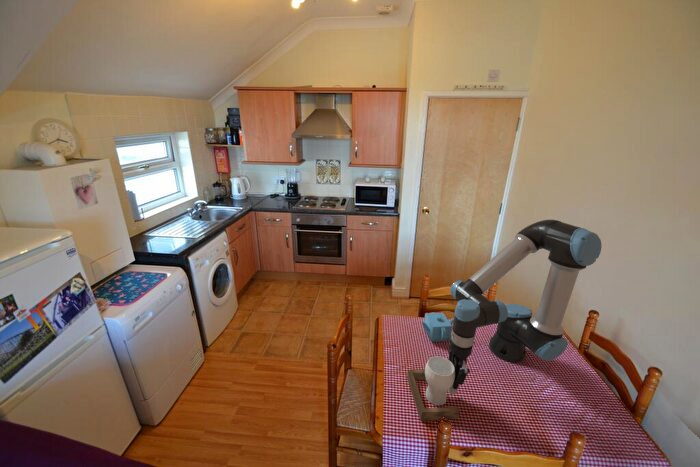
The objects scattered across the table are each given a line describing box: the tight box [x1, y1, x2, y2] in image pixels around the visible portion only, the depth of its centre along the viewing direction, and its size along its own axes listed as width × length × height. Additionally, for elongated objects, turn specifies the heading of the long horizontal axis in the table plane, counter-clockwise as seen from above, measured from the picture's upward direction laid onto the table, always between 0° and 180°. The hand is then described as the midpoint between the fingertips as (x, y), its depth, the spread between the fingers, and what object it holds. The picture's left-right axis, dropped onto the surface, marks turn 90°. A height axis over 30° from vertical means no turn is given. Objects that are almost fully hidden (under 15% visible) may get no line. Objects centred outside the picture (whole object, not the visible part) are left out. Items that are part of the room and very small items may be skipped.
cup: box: [424, 355, 455, 406], centre depth 111 cm, size 11×11×15 cm
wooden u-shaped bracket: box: [406, 368, 461, 422], centre depth 113 cm, size 14×19×4 cm
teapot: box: [420, 312, 454, 343], centre depth 145 cm, size 16×18×11 cm
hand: (452, 392), depth 114 cm, fingers closed
